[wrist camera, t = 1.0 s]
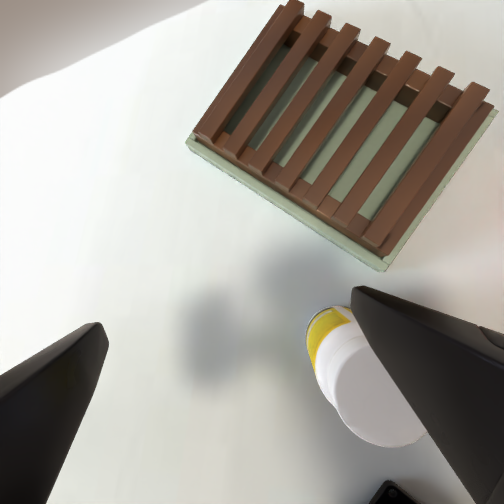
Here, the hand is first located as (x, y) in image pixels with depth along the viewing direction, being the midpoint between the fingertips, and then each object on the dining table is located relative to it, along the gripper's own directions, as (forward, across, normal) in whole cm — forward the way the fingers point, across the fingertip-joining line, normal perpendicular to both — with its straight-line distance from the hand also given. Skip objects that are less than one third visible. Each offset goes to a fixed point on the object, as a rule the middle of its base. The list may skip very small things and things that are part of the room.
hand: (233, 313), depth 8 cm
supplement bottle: (+6, -7, +8) cm, 12 cm away
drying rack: (+13, -9, -6) cm, 17 cm away
